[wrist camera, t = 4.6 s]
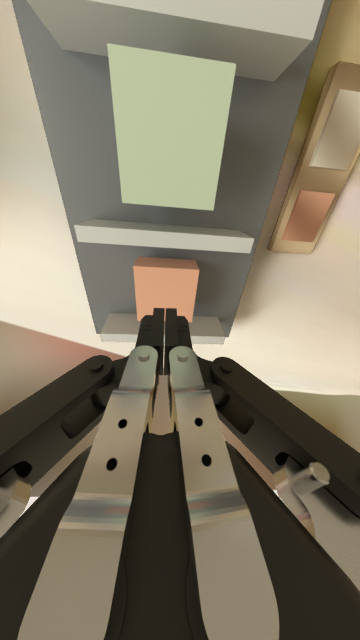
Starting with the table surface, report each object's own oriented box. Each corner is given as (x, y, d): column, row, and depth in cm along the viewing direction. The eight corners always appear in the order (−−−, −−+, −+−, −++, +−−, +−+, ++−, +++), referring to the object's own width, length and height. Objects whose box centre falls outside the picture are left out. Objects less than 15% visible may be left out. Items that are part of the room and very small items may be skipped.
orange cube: (141, 249, 17) (133, 266, 13) (192, 253, 17) (199, 269, 14) (143, 296, 20) (137, 320, 16) (187, 298, 20) (191, 322, 16)
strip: (330, 68, 12) (342, 58, 11) (387, 77, 13) (403, 68, 12) (267, 249, 19) (272, 252, 18) (305, 252, 20) (312, 254, 19)
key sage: (129, 98, 10) (107, 43, 7) (212, 109, 11) (236, 63, 7) (135, 200, 13) (122, 202, 10) (201, 206, 14) (213, 210, 10)
